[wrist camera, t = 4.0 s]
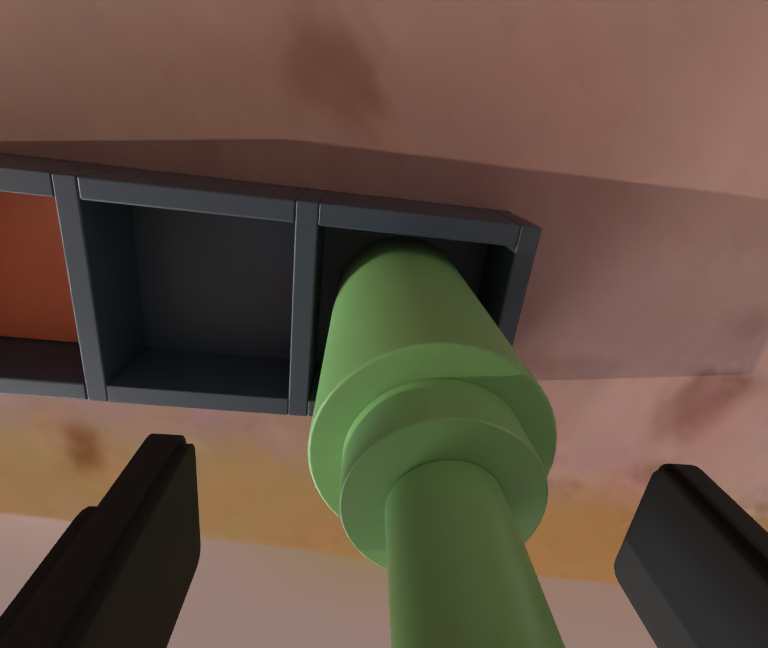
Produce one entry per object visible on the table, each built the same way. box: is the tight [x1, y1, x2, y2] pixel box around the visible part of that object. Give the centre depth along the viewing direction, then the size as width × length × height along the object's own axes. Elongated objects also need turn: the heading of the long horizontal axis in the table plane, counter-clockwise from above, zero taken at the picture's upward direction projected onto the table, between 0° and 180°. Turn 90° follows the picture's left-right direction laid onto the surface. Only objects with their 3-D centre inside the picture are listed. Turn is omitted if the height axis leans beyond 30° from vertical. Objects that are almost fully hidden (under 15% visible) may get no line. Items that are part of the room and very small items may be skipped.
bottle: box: [308, 237, 565, 648], centre depth 12 cm, size 6×6×17 cm
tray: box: [0, 153, 541, 416], centre depth 18 cm, size 25×9×4 cm, turn 83°
